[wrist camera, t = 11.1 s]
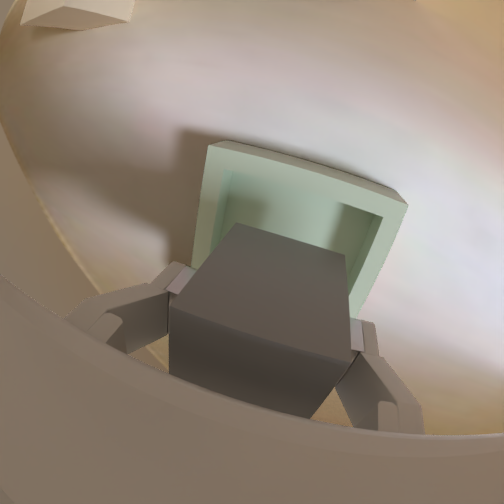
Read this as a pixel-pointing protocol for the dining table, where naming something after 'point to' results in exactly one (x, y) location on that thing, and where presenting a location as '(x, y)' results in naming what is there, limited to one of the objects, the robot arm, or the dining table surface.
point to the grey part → (264, 322)
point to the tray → (298, 209)
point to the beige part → (76, 13)
